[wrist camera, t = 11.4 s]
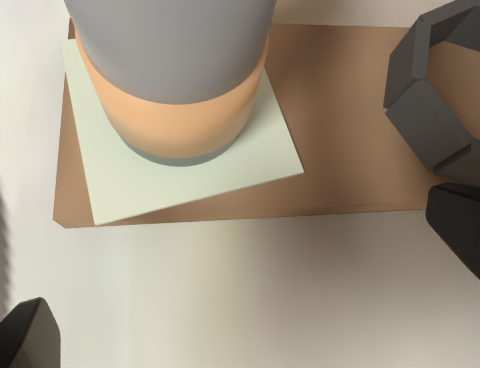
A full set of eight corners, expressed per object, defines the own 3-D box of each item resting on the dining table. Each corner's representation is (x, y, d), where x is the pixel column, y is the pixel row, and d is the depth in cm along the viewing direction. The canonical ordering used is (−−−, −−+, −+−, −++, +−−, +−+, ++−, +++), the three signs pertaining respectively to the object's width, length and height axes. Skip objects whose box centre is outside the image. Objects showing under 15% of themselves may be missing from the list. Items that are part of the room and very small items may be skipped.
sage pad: (302, 173, 16) (304, 171, 16) (95, 225, 14) (94, 224, 14) (243, 17, 19) (244, 14, 19) (61, 43, 17) (59, 40, 17)
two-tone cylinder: (232, 185, 16) (310, -76, 5) (85, 148, 15) (-130, -199, 5) (260, 68, 18) (353, -273, 8) (134, 34, 18) (53, -363, 7)
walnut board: (500, 48, 23) (521, 31, 21) (561, 201, 20) (590, 192, 18) (78, 39, 19) (69, 17, 18) (64, 228, 16) (52, 219, 14)
